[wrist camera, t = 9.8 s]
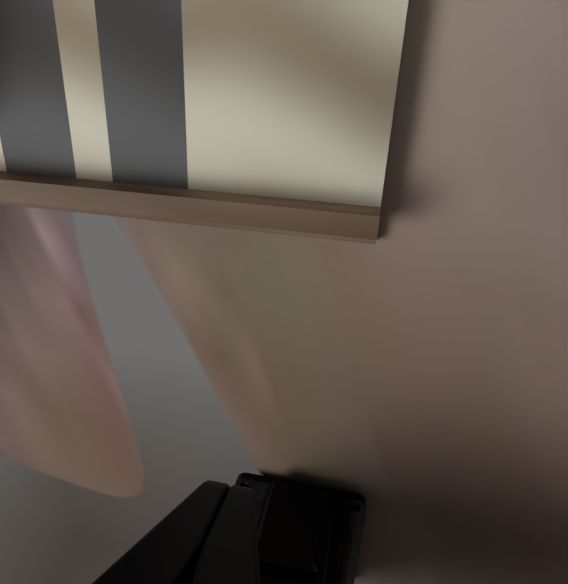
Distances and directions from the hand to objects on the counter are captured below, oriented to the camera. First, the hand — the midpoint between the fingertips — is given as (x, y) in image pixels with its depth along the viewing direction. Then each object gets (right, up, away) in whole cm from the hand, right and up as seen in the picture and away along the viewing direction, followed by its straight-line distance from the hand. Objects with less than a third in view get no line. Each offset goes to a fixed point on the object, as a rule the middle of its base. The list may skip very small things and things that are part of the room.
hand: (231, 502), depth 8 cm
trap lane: (-6, +12, +9) cm, 17 cm away
